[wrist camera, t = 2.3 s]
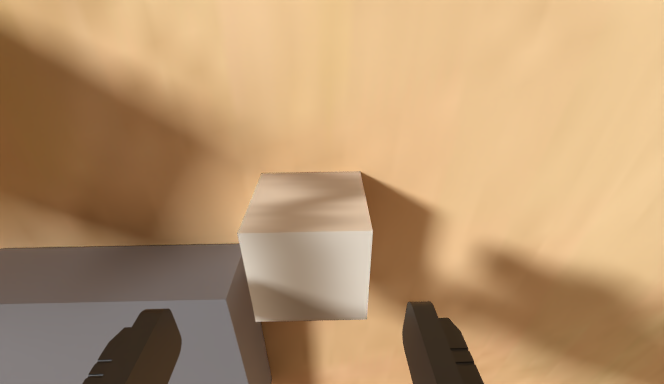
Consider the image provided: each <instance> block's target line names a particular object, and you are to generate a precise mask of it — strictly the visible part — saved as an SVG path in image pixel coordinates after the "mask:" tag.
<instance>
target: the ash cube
mask: <svg viewBox="0 0 664 384" xmlns="http://www.w3.org/2000/svg"><path fill="white" fill-rule="evenodd" d="M237 234H238V239H239V243H240V248H241V253H242V258H243V263H244V267H245V272H246V277H247V282H248V287H249V291H250V296H251V301H252V306H253V311H254V315H255V320H256V322H271V321H316V320H361V319H367V309H368V295H369V280H370V265H371V250H372V236H373V229H372V224H371V220H370V215H369V210H368V206H367V201H366V196H365V192H364V187H363V182H362V178H361V173H360V171H355V172H300V173H261V176H260V178H259V181H258V183H257V186H256V188H255V191H254V193H253V196H252V198H251V201H250V203H249V206H248V208H247V211H246V213H245V216H244V218H243V221H242V223H241V226H240V228H239V231H238V233H237Z"/></svg>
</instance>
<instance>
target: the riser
mask: <svg viewBox="0 0 664 384" xmlns="http://www.w3.org/2000/svg"><path fill="white" fill-rule="evenodd" d="M145 309H170V310H171V312H172V314H173V317H174V319H175V322H176V324H177V327H178V329H179V332H180V335H181V339H182V345H181V351H180V355H179V358H178V360H177V363H176V365H175V367H174V370H173V372H172V375H171V377H170V380H169V382H168V384H271V382H272V377H271V372H270V367H269V362H268V357H267V352H266V347H265V342H264V337H263V332H262V326H261V322H256V320H255V315H254V311H253V306H252V301H251V296H250V291H249V287H248V282H247V277H246V272H245V267H244V263H243V258H242V253H241V248H240V244H208V245H158V246H108V247H58V248H8V249H0V384H82V383H83V382H84V380H85V379H86V378H88V374H89V372H90V371H91V369H92V368H93V366H94V365H95V363H97V362H98V358H99V357H100V355H101V353H102V352H103V350H104V349H105V347H106V346H107V344H108V342H109V341H111V340H112V339H113V338H114V337H115V336H116V335H117V334H118V333H119V332H120V331H121V330H122V329H123V328H124V327H132V326H133V324H134V322H135V321H136V319H137V317H138V316H139V314H140V313H141V312H142V311H143V310H145Z"/></svg>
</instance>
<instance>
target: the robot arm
mask: <svg viewBox="0 0 664 384" xmlns="http://www.w3.org/2000/svg"><path fill="white" fill-rule="evenodd" d="M402 335H403V345H404V350H405V354H406V358H407V362H408V366H409V370H410V374H411V378H412V381H413V384H484V383H483V381H482V378H481V376H480V374H479V372H478V369H477V367H476V365H474V360H473V358H472V356H471V354H470V351H468V347H467V345H466V342H465V340H464V338H463V336H462V333H461V331H460V330H459V329H458V328H457V327H456V326H455V325H454V324H453V322H452V321H451V320H450V319H449V318H438V316H437V314H436V311H435V309H434V306H433V304H432V303H431V302H430V301H428V302H408V304H407V308H406V314H405V319H404V325H403V332H402ZM181 345H182V339H181V335H180V332H179V329H178V327H177V324H176V322H175V319H174V317H173V314H172V312H171V310H170V309H145V310H143V311H142V312H141V313H140V314H139V316H138V317H137V319H136V321H135V322H134V324H133V326H132V327H124V328H123V329H122V330H121V331H120V332H119V333H118V334H117V335H116V336H115V337H114V338H113V339H112V340H111V341H109V342H108V344H107V346H106V347H105V349H104V350H103V352H102V353H101V355H100V357H99V358H98V362H97V363H95V365H94V366H93V368H92V369H91V371H90V372H89V374H88V378H86V379H85V380H84V382H83V383H82V384H168V382H169V380H170V377H171V375H172V372H173V370H174V367H175V365H176V363H177V360H178V358H179V355H180V351H181Z"/></svg>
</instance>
